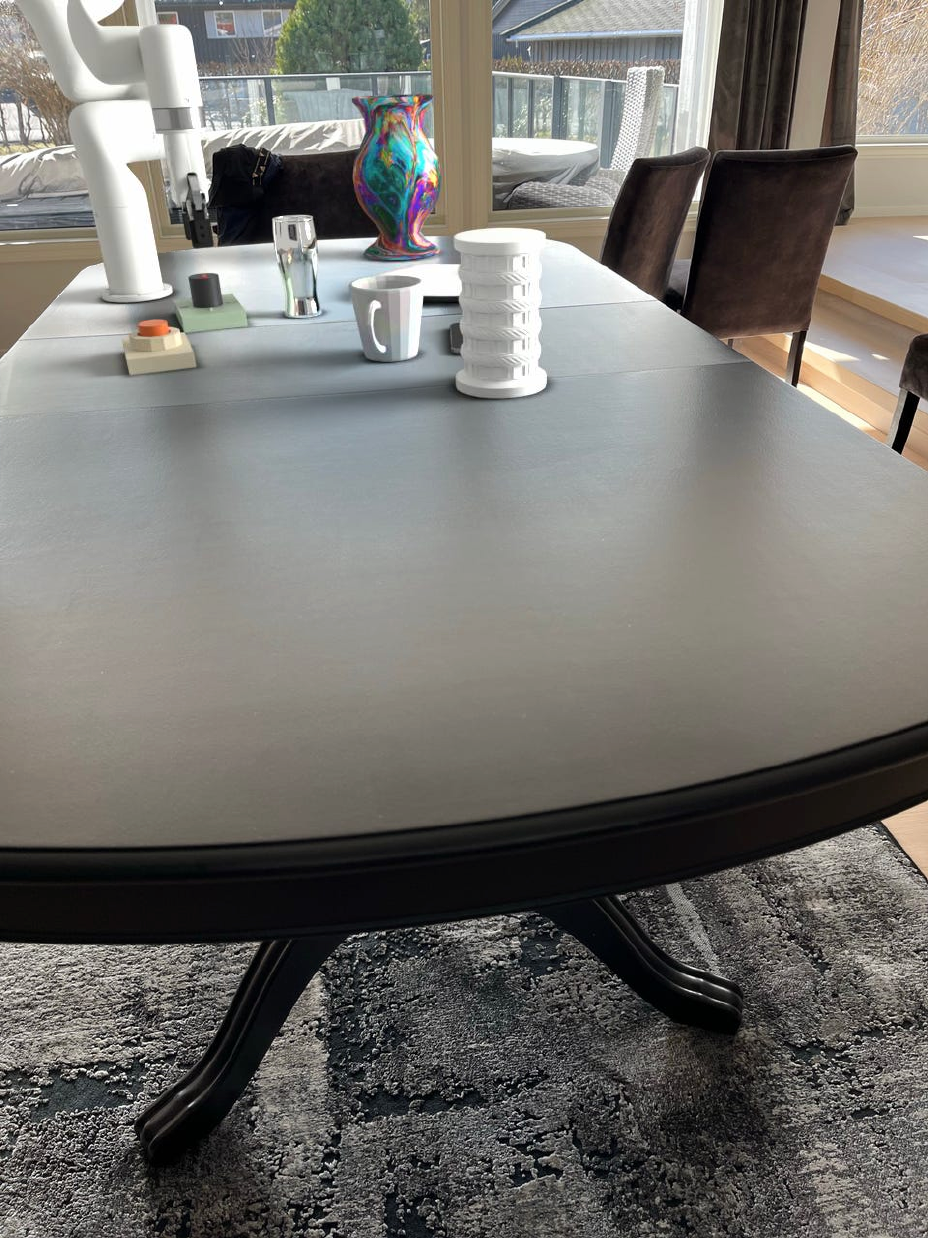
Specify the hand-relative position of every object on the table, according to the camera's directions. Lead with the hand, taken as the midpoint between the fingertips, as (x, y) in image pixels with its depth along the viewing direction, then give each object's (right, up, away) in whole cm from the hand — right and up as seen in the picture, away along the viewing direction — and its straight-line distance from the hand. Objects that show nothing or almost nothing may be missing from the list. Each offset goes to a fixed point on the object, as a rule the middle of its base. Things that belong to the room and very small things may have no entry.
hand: (199, 242), depth 150 cm
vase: (+29, +19, +54) cm, 64 cm away
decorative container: (+47, -30, -29) cm, 63 cm away
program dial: (0, -8, +5) cm, 10 cm away
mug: (+31, -23, -17) cm, 43 cm away
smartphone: (+44, -18, -10) cm, 48 cm away
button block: (-2, -23, -14) cm, 27 cm away
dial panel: (0, -10, +6) cm, 12 cm away
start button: (-2, -20, -16) cm, 25 cm away
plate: (+38, 0, +22) cm, 44 cm away
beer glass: (+15, -9, +8) cm, 19 cm away
